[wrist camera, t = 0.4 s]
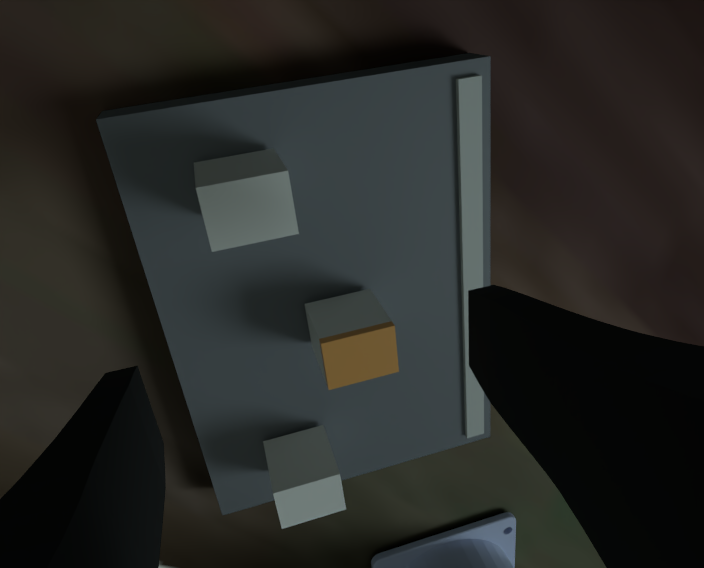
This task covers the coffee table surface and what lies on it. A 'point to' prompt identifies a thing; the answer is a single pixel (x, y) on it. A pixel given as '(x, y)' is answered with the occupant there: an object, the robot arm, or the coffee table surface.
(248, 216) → the block
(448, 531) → the robot arm
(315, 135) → the breaker board
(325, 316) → the block
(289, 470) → the breaker
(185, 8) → the coffee table surface
